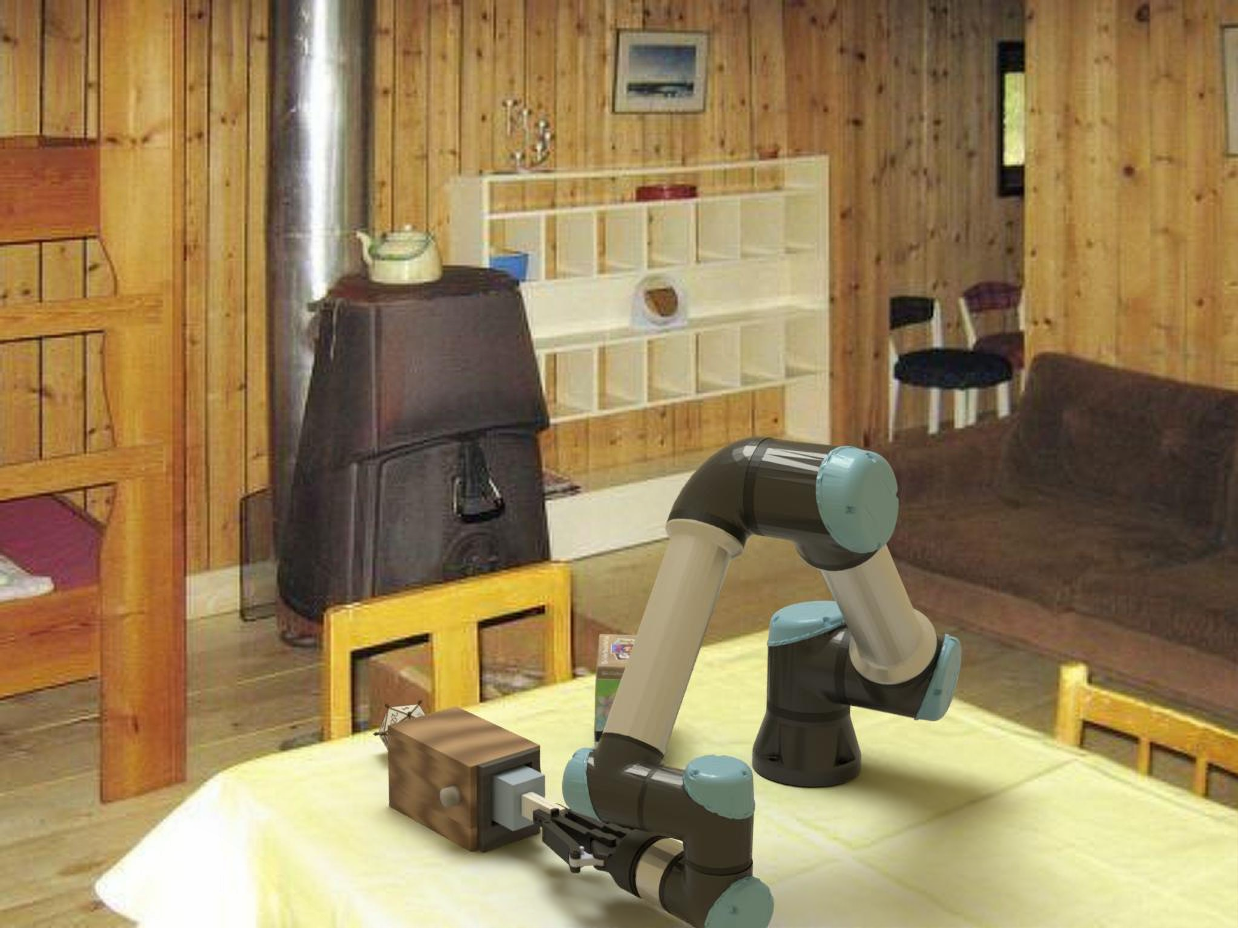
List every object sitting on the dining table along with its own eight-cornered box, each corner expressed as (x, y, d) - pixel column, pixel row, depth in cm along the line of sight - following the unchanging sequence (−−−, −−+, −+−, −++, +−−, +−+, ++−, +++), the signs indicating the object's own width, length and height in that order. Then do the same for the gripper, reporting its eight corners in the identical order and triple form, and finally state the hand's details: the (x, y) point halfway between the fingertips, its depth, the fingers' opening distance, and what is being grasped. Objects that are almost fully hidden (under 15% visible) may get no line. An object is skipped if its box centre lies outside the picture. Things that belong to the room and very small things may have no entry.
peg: (545, 819, 221) (545, 774, 219) (513, 830, 217) (513, 785, 216) (472, 782, 232) (472, 739, 230) (441, 792, 228) (441, 749, 227)
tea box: (665, 767, 246) (667, 666, 243) (593, 766, 247) (593, 665, 243) (664, 727, 261) (665, 632, 258) (595, 726, 261) (596, 631, 258)
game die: (415, 786, 248) (423, 748, 241) (360, 761, 249) (367, 723, 242) (442, 737, 254) (451, 699, 247) (388, 713, 255) (396, 674, 248)
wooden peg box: (555, 826, 227) (556, 744, 224) (466, 858, 218) (465, 772, 215) (466, 781, 241) (465, 703, 238) (378, 808, 232) (377, 728, 229)
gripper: (613, 916, 197) (484, 846, 214) (697, 882, 206) (567, 817, 223) (613, 854, 195) (483, 788, 213) (699, 822, 204) (567, 761, 221)
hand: (526, 803), depth 218 cm, fingers closed
